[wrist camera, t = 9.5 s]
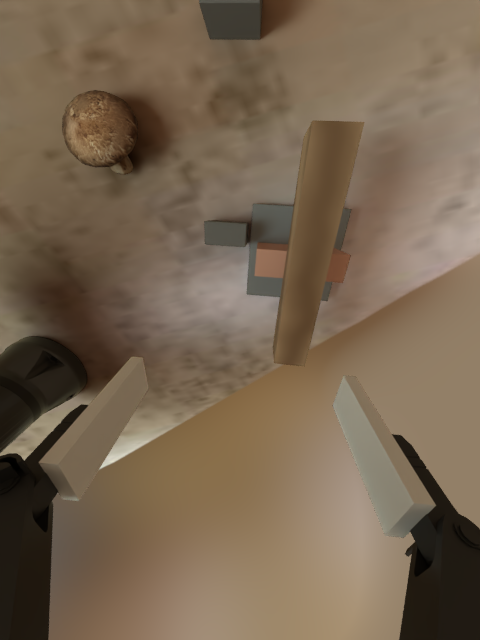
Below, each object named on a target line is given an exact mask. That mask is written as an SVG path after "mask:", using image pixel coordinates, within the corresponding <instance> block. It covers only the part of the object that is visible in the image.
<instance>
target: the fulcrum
mask: <svg viewBox="0 0 480 640" xmlns="http://www.w3.org/2000/svg"><path fill="white" fill-rule="evenodd" d="M293 207H294V206H282V205H264V204H253V212H252V226H251V240H250V255H249V269H248V283H247V294H248V295H260V296H273V297H280V295H281V288H282V281H283V275H284V268H285V261H286V255H287V248H288V241H289V234H290V228H291V221H292V214H293ZM350 213H351V209H343V212H342V216H341V220H340V224H339V228H338V232H337V236H336V240H335V244H334V248H333V252H332V256H331V261H330V265H329V269H328V273H327V277H326V281H325V285H324V289H323V293H322V297H321V301H328V297H329V293H330V289H331V285H332V282H339V283H343V281H344V277H345V274H346V270H347V267H348V263H349V260H350V256H351V255H349V254H347V253H344V252H342V251H341V247H342V243H343V239H344V236H345V232H346V228H347V224H348V220H349V217H350Z"/></svg>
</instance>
